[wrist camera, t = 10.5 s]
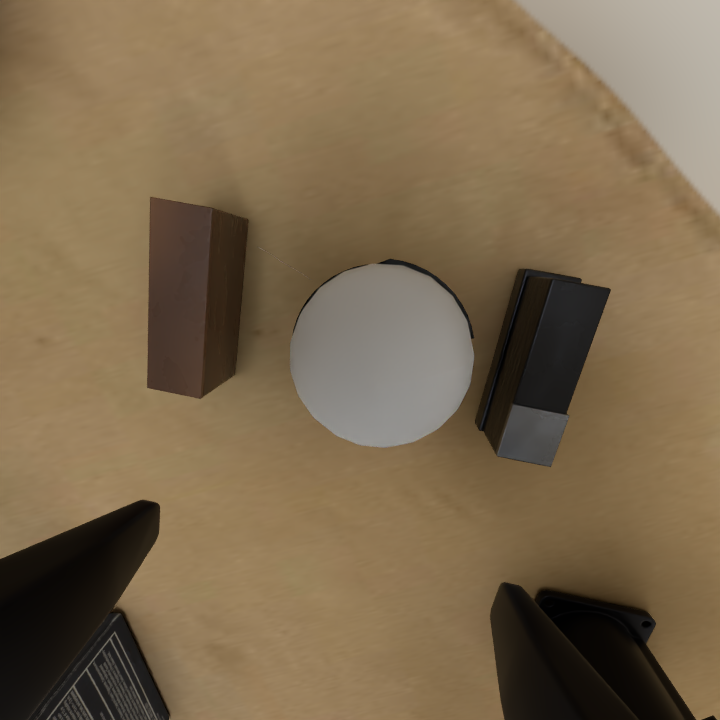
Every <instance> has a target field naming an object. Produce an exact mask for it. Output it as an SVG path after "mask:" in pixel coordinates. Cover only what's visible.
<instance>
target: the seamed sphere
mask: <svg viewBox="0 0 720 720" xmlns="http://www.w3.org/2000/svg"><path fill="white" fill-rule="evenodd" d="M258 248H259V247H258ZM260 249H261V248H260ZM262 250H263V249H262ZM264 251H265V250H264ZM266 252H267V251H266ZM269 254H270V253H269ZM272 256H273V255H272ZM275 258H276V257H275ZM278 260H279V259H278ZM281 262H282V261H281ZM284 264H285V263H284ZM286 265H287V264H286ZM289 267H290V266H289ZM291 268H292V267H291ZM293 269H294V268H293ZM296 271H297V270H296ZM298 272H299V271H298ZM301 274H302V273H301ZM304 276H305V275H304ZM307 278H308V277H307ZM310 280H311V279H310ZM472 338H474V335H473V331H472V326H471V323H470V321H469V318H468V315H467V313H466V311H465V309H464V307H463V305H462V303H461V302H460V301H459V299H458V298H457V296H456V295H455V294H454V292H453V291H452V290H451V289H450V288H449V287H448V286H447V285H446V284H445V283H444V282H442V281H441V280H440V279H439V278H438V277H436V276H435V275H433V274H432V273H430V272H428V271H427V270H425V269H423V268H421V267H418V266H416V265H414V264H411V263H407V262H404V261H400V260H394V259H388V260H386V261H383V262H380V263H378V264H367V265H362V266H357V267H353V268H351V269H348V270H345V271H343V272H341V273H339V274H337V275H335V276H333V277H331V278H330V279H329V280H327V281H326V282H324V283H323V284H322V285H321V286H320V287H319V288H318V289H316V290H315V291H314V293H313V294H312V295H311V296H310V297H309V299H308V300H307V301H306V303H305V304H304V306H303V308H302V309H301V311H300V313H299V316H298V318H297V320H296V323H295V327H294V330H293V335H292V339H291V342H290V371H291V374H292V378H293V381H294V384H295V387H296V390H297V393H298V396H299V398H300V399H301V400H302V402H303V403H304V405H305V406H306V408H307V409H308V410H309V412H310V413H311V415H312V416H313V418H315V419H316V420H317V421H318V422H320V423H321V424H322V425H323V426H325V427H326V428H327V429H329V430H330V431H331V432H332V433H334V434H335V435H336V436H338V437H341V438H343V439H346V440H348V441H351V442H353V443H356V444H358V445H362V446H372V447H383V448H387V447H392V446H397V445H402V444H407V443H412V442H415V441H417V440H418V439H420V438H422V437H424V436H426V435H428V434H430V433H432V432H434V431H436V430H438V429H439V428H440V427H441V426H442V425H443V424H444V423H445V422H446V421H447V420H448V419H449V418H450V417H451V416H452V415H453V414H454V413H455V412H456V411H457V410H458V408H459V406H460V404H461V402H462V400H463V398H464V396H465V394H466V392H467V390H468V388H469V386H470V383H471V376H472V370H473V363H474V352H473V347H472V342H471V339H472Z"/></svg>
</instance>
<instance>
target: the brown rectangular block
mask: <svg viewBox="0 0 720 720" xmlns="http://www.w3.org/2000/svg"><path fill="white" fill-rule="evenodd" d="M247 230H248V219H245V218H242V217H239V216H236V215H233V214H229V213H226V212H223V211H220V210H217V209H214V208H210V207H204V206H198V205H193V204H187V203H182V202H176V201H171V200H165V199H160V198H154V197H150V249H149V313H148V378H147V388H150V389H155V390H160V391H165V392H170V393H175V394H180V395H185V396H190V397H195V398H199V399H201V398H203V397H204V396H205V395H207V394H208V393H209V392H211V391H212V390H214V389H215V388H217V387H218V386H220V385H221V384H222V383H224V382H225V381H227V380H228V379H230V378H231V377H233V376H234V375H235V370H236V359H237V347H238V335H239V324H240V312H241V300H242V288H243V277H244V265H245V253H246V242H247Z"/></svg>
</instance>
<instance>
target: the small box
mask: <svg viewBox="0 0 720 720" xmlns="http://www.w3.org/2000/svg"><path fill="white" fill-rule="evenodd" d="M28 720H169V715H168V713H167V711H166V709H165V706H164V704H163V702H162V700H161V698H160V696H159V693H158V692H157V689H156V687H155V685H154V683H153V681H152V679H151V676H150V674H149V672H148V670H147V668H146V666H145V663H144V661H143V659H142V657H141V655H140V653H139V651H138V648H137V646H136V644H135V642H134V640H133V638H132V635H131V633H130V631H129V629H128V627H127V625H126V622H125V620H124V618H123V616H122V614H121V613H109V614H108V616H107V617H106V618H105V620H104V621H103V622H102V624H101V625H100V626H99V627H98V629H97V630H96V631H95V633H94V634H93V635H92V637H91V638H90V639H89V641H88V642H87V643H86V645H85V646H84V647H83V648H82V650H81V651H80V652H79V654H78V655H77V656H76V658H75V659H74V660H73V662H72V663H71V664H70V666H69V667H68V668H67V669H66V671H65V672H64V673H63V675H62V676H61V677H60V679H59V680H58V681H57V683H56V684H55V685H54V687H53V688H52V689H51V690H50V692H49V693H48V694H47V696H46V697H45V698H44V700H43V701H42V702H41V704H40V705H39V706H38V707H37V709H36V710H35V711H34V713H33V714H32V715H31V717H30V718H29V719H28Z"/></svg>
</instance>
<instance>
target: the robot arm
mask: <svg viewBox="0 0 720 720" xmlns="http://www.w3.org/2000/svg"><path fill="white" fill-rule="evenodd" d="M159 523H160V506H159V504H158V503H156V502H152V501H147V500H140V501H137V502H134V503H132V504H130V505H127V506H125V507H123V508H120V509H118V510H116V511H113V512H111V513H108V514H106V515H104V516H101V517H99V518H97V519H94V520H92V521H90V522H87V523H85V524H82V525H80V526H78V527H75V528H73V529H71V530H68V531H66V532H63V533H61V534H59V535H56V536H54V537H52V538H49V539H47V540H45V541H42V542H40V543H37V544H35V545H33V546H30V547H28V548H26V549H23V550H21V551H19V552H16V553H14V554H11V555H9V556H7V557H4V558H2V559H0V720H28V719H29V718H30V717H31V715H32V714H33V713H34V711H35V710H36V709H37V707H38V706H39V705H40V704H41V702H42V701H43V700H44V698H45V697H46V696H47V694H48V693H49V692H50V690H51V689H52V688H53V687H54V685H55V684H56V683H57V681H58V680H59V679H60V677H61V676H62V675H63V673H64V672H65V671H66V669H67V668H68V667H69V666H70V664H71V663H72V662H73V660H74V659H75V658H76V656H77V655H78V654H79V652H80V651H81V650H82V648H83V647H84V646H85V645H86V643H87V642H88V641H89V639H90V638H91V637H92V635H93V634H94V633H95V631H96V630H97V629H98V627H99V626H100V625H101V624H102V622H103V621H104V620H105V618H106V617H107V616H108V614H109V613H110V611H111V610H112V609H113V607H114V606H115V604H116V603H117V601H118V600H119V598H120V597H121V595H122V594H123V592H124V591H125V589H126V587H127V586H128V584H129V583H130V581H131V579H132V578H133V576H134V575H135V573H136V572H137V570H138V568H139V567H140V565H141V564H142V562H143V561H144V559H145V557H146V556H147V554H148V553H149V551H150V550H151V548H152V546H153V545H154V543H155V541H156V539H157V537H158V534H159ZM490 620H491V628H492V636H493V644H494V652H495V660H496V668H497V676H498V684H499V691H500V698H501V704H502V709H503V714H504V719H505V720H696V719H695V717H694V716H693V714H692V713H691V711H690V710H689V708H688V707H687V705H686V704H685V702H684V701H683V699H682V698H681V696H680V695H679V693H678V692H677V690H676V689H675V687H674V686H673V684H672V683H671V681H670V680H669V678H668V677H667V675H666V674H665V672H664V671H663V669H662V668H661V666H660V665H659V663H658V662H657V660H656V659H655V657H654V656H653V654H652V653H651V651H650V650H649V648H648V647H647V645H646V643H647V641H648V639H649V637H650V635H651V633H652V631H653V629H654V627H655V625H656V623H655V620H654V619H653V618H652V616H651V615H650V614H649V613H648V612H646V611H642V610H637V609H633V608H628V607H623V606H619V605H614V604H610V603H605V602H601V601H596V600H591V599H587V598H582V597H578V596H573V595H568V594H564V593H559V592H555V591H550V590H544V591H541V592H540V593H539V594H538V596H537V598H536V601H534V600H533V599H532V598H531V597H530V596H529V595H528V593H527V592H526V591H525V590H524V589H523V588H522V587H521V586H519V585H515V584H511V583H506V582H503V583H501V585H500V586H499V589H498V592H497V594H496V597H495V600H494V602H493V605H492V608H491V614H490ZM702 720H717V719H716V718H715V717H714V716H710V717H708V718H705V719H702Z"/></svg>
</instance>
